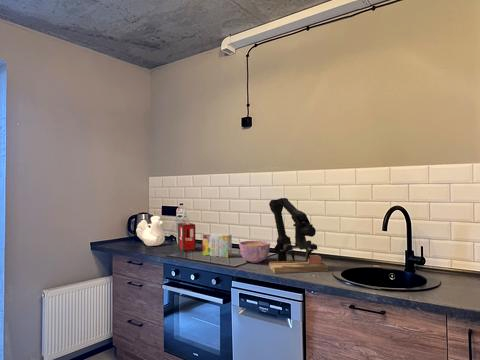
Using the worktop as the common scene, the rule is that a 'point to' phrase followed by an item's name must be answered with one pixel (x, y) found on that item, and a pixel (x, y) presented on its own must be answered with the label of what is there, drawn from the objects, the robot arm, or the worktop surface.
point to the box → (296, 267)
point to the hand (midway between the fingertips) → (300, 261)
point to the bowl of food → (254, 250)
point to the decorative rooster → (151, 231)
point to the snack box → (217, 245)
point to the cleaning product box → (186, 237)
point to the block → (314, 259)
